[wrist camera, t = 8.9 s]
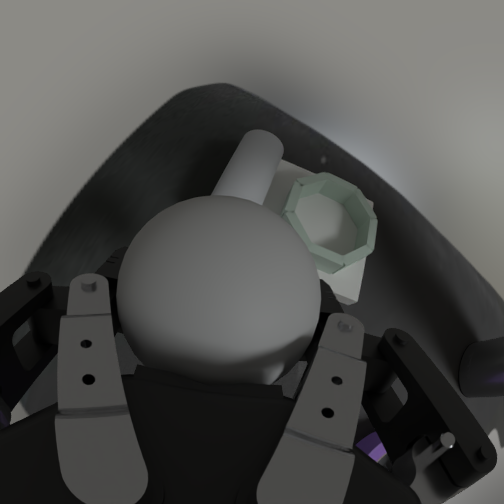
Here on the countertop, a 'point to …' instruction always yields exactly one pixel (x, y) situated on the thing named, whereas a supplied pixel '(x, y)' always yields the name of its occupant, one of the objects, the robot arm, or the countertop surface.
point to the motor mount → (307, 209)
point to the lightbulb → (219, 292)
